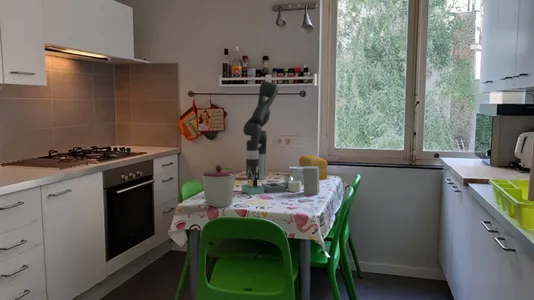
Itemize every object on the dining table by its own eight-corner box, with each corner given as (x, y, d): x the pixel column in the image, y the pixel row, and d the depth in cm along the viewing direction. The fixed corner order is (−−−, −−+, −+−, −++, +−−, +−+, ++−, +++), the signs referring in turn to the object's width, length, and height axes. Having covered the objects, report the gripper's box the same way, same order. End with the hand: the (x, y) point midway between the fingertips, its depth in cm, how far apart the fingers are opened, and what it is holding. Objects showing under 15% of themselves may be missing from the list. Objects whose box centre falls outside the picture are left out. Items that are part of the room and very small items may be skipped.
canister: (240, 202, 227) (240, 163, 224) (230, 210, 209) (230, 168, 207) (208, 200, 231) (208, 161, 228) (195, 208, 213) (195, 166, 211)
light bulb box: (305, 182, 281) (305, 166, 280) (305, 184, 275) (305, 168, 273) (289, 182, 282) (289, 166, 281) (288, 184, 276) (288, 167, 274)
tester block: (261, 189, 259) (261, 182, 259) (276, 188, 263) (276, 181, 263) (269, 193, 248) (269, 186, 248) (285, 191, 253) (285, 185, 252)
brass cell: (254, 190, 255) (254, 177, 254) (257, 191, 250) (257, 178, 249) (247, 190, 253) (247, 178, 252) (250, 192, 248) (250, 179, 247)
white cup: (286, 189, 258) (286, 181, 258) (297, 188, 261) (297, 180, 261) (291, 192, 251) (291, 183, 251) (303, 191, 255) (303, 182, 254)
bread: (327, 179, 292) (328, 158, 291) (309, 180, 289) (310, 158, 288) (315, 173, 316) (315, 153, 314) (298, 174, 313) (298, 154, 311)
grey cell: (283, 187, 264) (283, 175, 263) (290, 187, 266) (290, 175, 265) (287, 189, 260) (287, 177, 259) (294, 188, 262) (294, 176, 261)
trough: (241, 190, 256) (241, 184, 255) (254, 189, 259) (254, 183, 259) (250, 195, 244) (250, 189, 243) (263, 193, 247) (263, 187, 247)
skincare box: (319, 192, 251) (320, 166, 249) (317, 195, 244) (317, 168, 242) (305, 191, 253) (306, 165, 251) (302, 194, 247) (303, 167, 245)
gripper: (263, 159, 244) (263, 186, 246) (253, 156, 257) (253, 182, 259) (251, 159, 241) (251, 187, 243) (242, 156, 254) (242, 183, 256)
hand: (252, 185), depth 251 cm, fingers open, 8 cm apart
